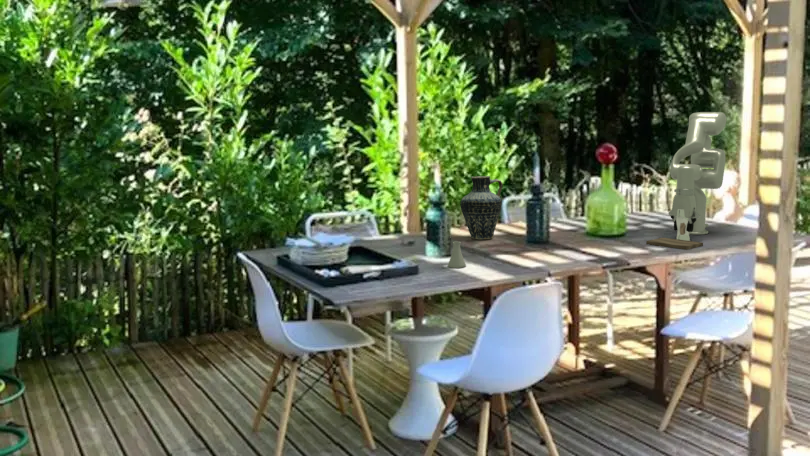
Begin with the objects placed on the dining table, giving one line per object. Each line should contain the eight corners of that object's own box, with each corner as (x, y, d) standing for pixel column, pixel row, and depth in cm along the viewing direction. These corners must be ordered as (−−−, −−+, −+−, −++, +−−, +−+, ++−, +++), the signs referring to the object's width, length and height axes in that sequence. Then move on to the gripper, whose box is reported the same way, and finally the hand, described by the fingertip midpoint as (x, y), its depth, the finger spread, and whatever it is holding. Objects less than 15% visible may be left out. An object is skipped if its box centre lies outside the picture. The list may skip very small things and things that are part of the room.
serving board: (663, 240, 383) (663, 237, 383) (702, 245, 368) (703, 242, 368) (646, 244, 374) (646, 240, 373) (686, 249, 359) (686, 246, 359)
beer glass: (691, 241, 379) (693, 209, 376) (676, 241, 380) (677, 209, 378) (689, 239, 385) (691, 207, 383) (674, 239, 387) (675, 207, 385)
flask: (453, 264, 331) (453, 239, 330) (469, 266, 327) (469, 241, 326) (444, 267, 325) (444, 242, 324) (459, 269, 321) (459, 244, 320)
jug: (472, 243, 381) (472, 178, 376) (453, 237, 398) (453, 175, 394) (511, 239, 389) (511, 176, 385) (490, 234, 407) (490, 173, 402)
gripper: (663, 191, 383) (662, 229, 386) (698, 194, 370) (696, 233, 373) (672, 190, 388) (671, 228, 391) (706, 193, 375) (704, 232, 378)
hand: (683, 230), depth 382 cm, fingers closed on beer glass, 6 cm apart
